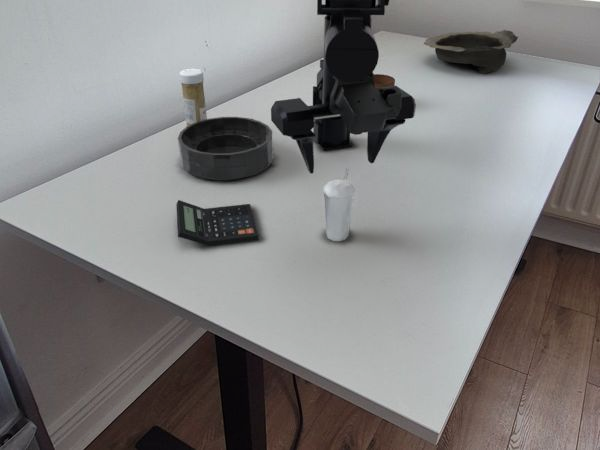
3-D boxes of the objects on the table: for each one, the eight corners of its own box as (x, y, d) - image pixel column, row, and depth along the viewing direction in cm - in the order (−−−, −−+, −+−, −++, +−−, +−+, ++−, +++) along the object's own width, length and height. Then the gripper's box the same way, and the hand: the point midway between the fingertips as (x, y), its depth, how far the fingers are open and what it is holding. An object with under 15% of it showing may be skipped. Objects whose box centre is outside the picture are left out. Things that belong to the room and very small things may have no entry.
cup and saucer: (378, 118, 122) (381, 91, 119) (340, 104, 129) (341, 78, 126) (413, 105, 129) (416, 79, 125) (375, 92, 136) (377, 67, 133)
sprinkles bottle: (212, 136, 114) (206, 72, 107) (192, 141, 112) (184, 76, 104) (203, 129, 117) (196, 66, 110) (183, 133, 115) (175, 70, 108)
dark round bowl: (258, 137, 113) (257, 112, 110) (284, 173, 100) (284, 146, 97) (175, 149, 109) (171, 123, 106) (191, 189, 95) (187, 161, 92)
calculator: (258, 240, 82) (257, 223, 80) (179, 249, 80) (177, 232, 78) (250, 208, 90) (249, 192, 88) (178, 216, 88) (175, 200, 86)
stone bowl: (526, 77, 145) (532, 41, 140) (431, 84, 146) (433, 49, 141) (499, 50, 165) (503, 18, 160) (416, 56, 167) (417, 24, 162)
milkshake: (358, 228, 85) (362, 171, 79) (345, 247, 81) (349, 187, 75) (331, 222, 86) (333, 165, 81) (317, 239, 82) (318, 180, 77)
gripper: (297, 84, 60) (298, 206, 68) (445, 67, 65) (428, 182, 74) (268, 56, 69) (271, 168, 77) (400, 43, 74) (390, 148, 82)
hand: (341, 167), depth 77 cm, fingers open, 9 cm apart
